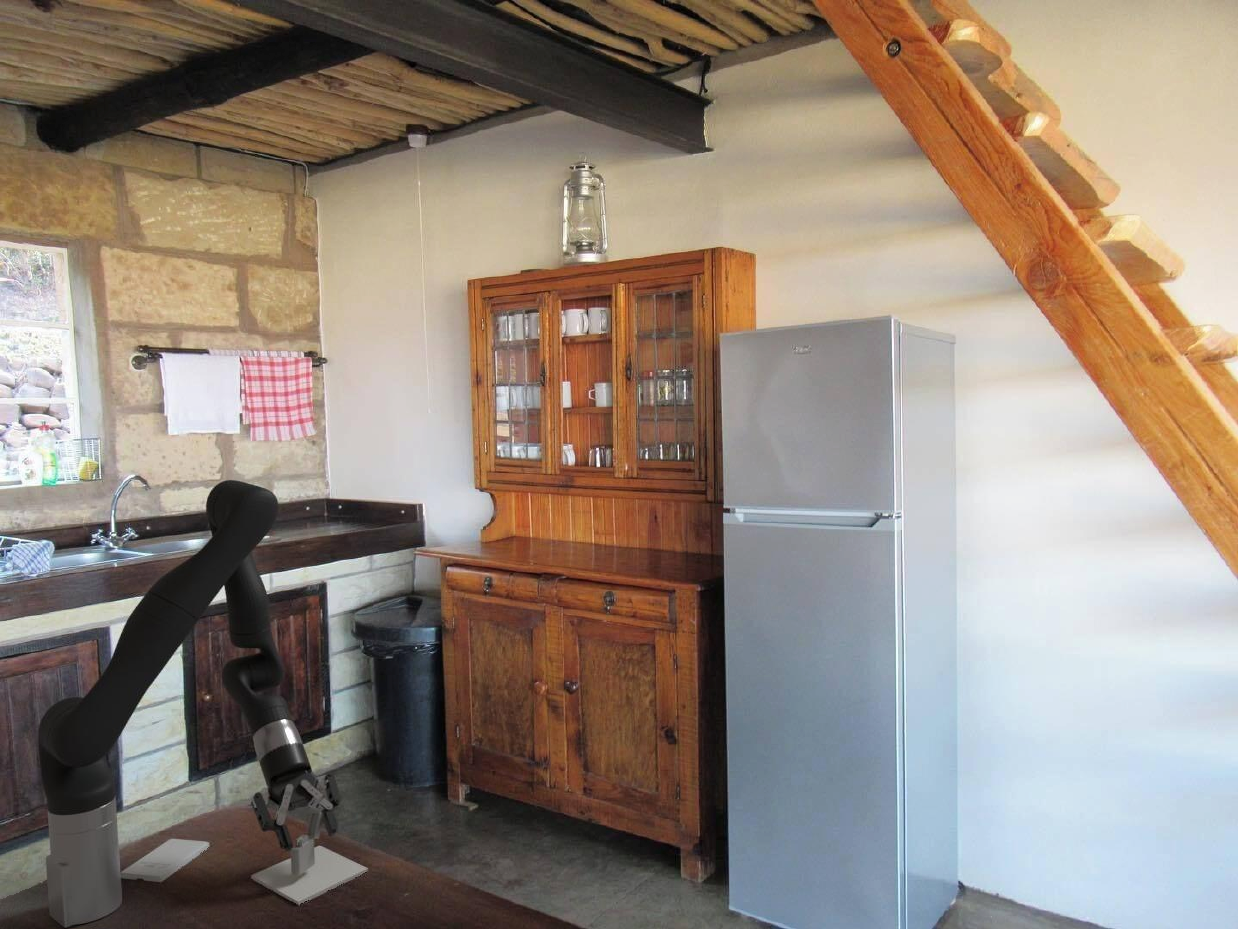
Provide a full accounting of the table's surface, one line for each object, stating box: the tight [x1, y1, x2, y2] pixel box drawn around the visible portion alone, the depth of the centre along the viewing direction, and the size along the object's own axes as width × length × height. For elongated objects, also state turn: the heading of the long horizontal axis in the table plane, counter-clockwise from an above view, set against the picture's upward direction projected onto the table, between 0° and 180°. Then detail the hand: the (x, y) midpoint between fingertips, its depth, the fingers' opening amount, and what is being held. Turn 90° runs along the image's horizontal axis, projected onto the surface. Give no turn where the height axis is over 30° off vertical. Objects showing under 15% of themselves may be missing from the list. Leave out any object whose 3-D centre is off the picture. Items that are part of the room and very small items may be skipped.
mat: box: [250, 845, 369, 906], centre depth 155 cm, size 13×14×1 cm
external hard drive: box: [120, 838, 210, 883], centre depth 161 cm, size 2×8×12 cm
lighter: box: [289, 810, 324, 875], centre depth 155 cm, size 7×2×8 cm, turn 161°
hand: (311, 841), depth 154 cm, fingers closed on lighter, 7 cm apart
